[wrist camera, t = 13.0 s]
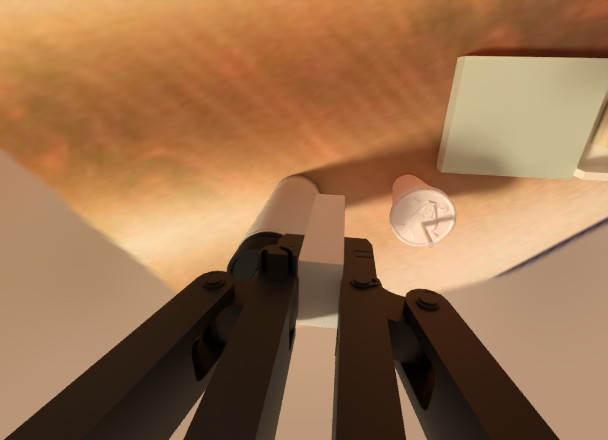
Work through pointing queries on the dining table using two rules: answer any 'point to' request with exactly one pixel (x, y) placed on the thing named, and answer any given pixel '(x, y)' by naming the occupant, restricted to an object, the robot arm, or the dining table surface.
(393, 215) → the smoothie
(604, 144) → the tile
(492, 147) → the board
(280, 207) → the travel mug
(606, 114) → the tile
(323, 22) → the dining table surface
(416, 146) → the dining table surface
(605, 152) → the tray
